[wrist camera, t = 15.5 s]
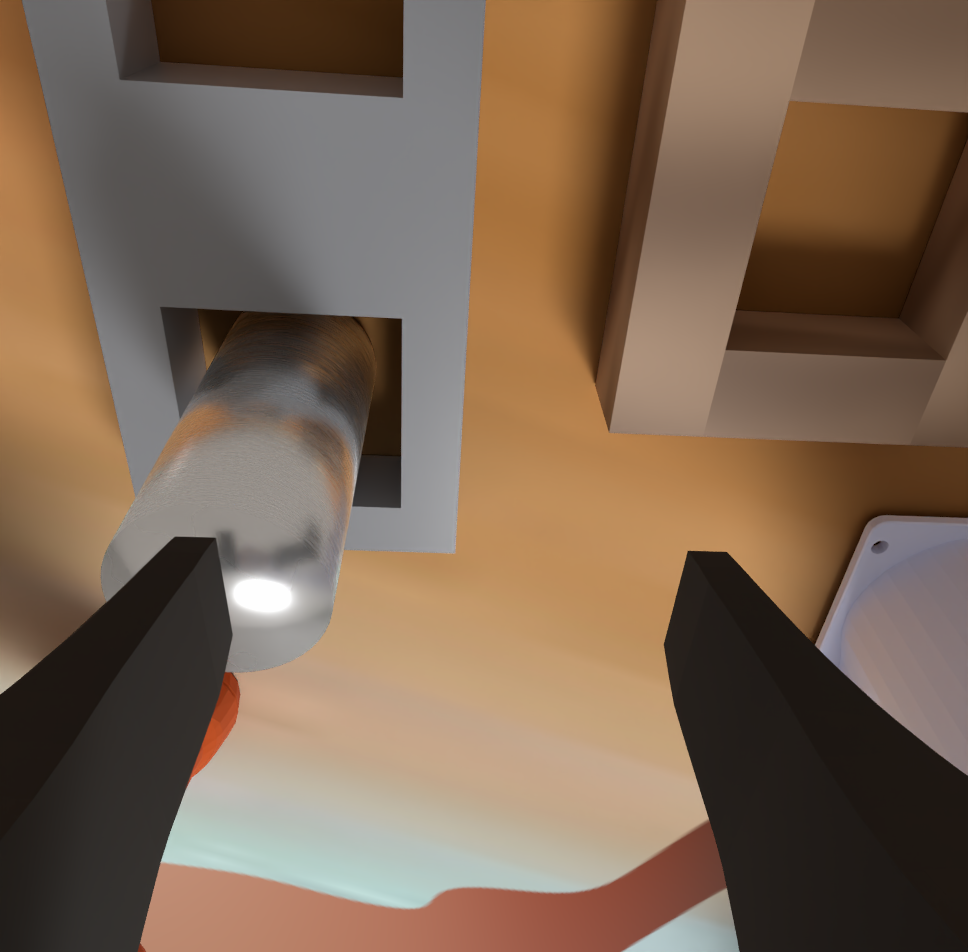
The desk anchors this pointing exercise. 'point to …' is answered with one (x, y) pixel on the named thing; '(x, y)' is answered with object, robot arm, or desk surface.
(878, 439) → the socket block
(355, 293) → the rack
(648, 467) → the desk surface
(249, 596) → the shiny metal cylinder
